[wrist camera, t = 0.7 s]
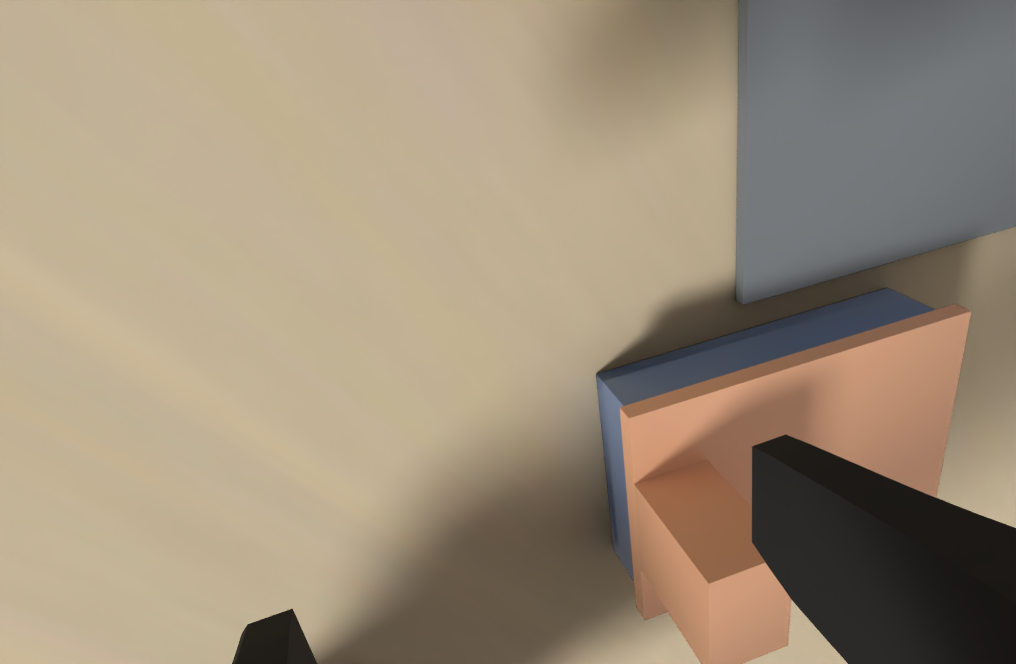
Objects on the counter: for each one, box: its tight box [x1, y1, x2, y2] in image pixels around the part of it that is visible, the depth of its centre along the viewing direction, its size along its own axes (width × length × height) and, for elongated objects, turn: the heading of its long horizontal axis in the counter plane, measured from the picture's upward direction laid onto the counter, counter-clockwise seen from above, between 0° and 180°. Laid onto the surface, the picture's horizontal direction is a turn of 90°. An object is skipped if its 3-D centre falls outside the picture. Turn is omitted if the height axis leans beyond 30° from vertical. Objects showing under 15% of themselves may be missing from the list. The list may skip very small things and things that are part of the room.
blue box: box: [596, 288, 935, 581], centre depth 24 cm, size 8×11×2 cm
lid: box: [620, 304, 971, 664], centre depth 21 cm, size 8×12×6 cm
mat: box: [736, 0, 1016, 305], centre depth 21 cm, size 10×13×1 cm
